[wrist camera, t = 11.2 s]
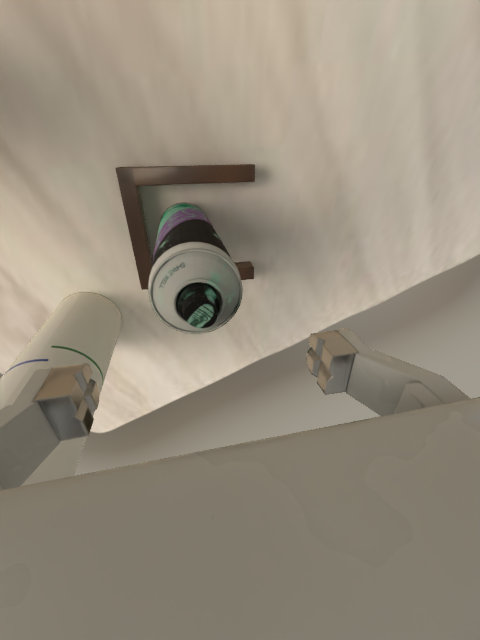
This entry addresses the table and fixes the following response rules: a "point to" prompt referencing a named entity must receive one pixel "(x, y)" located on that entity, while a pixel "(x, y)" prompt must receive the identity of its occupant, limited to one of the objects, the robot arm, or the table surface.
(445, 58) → the table surface
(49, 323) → the cylindrical container
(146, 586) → the robot arm
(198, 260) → the spray can
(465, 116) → the table surface
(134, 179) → the frame
